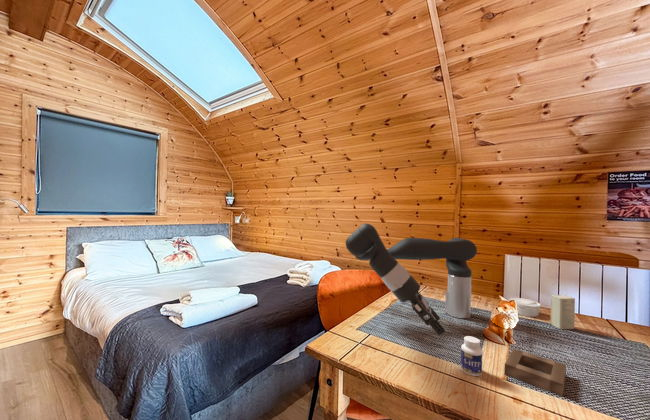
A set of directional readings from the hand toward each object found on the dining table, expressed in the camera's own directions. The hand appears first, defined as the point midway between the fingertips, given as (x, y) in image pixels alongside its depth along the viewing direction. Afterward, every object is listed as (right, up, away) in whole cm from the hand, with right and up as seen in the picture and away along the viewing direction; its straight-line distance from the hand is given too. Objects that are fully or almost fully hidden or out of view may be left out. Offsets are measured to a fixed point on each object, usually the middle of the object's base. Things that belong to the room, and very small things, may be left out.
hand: (439, 326), depth 76 cm
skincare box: (+62, -14, +30) cm, 70 cm away
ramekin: (+57, -14, +44) cm, 74 cm away
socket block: (+25, -12, -3) cm, 28 cm away
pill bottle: (+8, -12, -1) cm, 15 cm away
